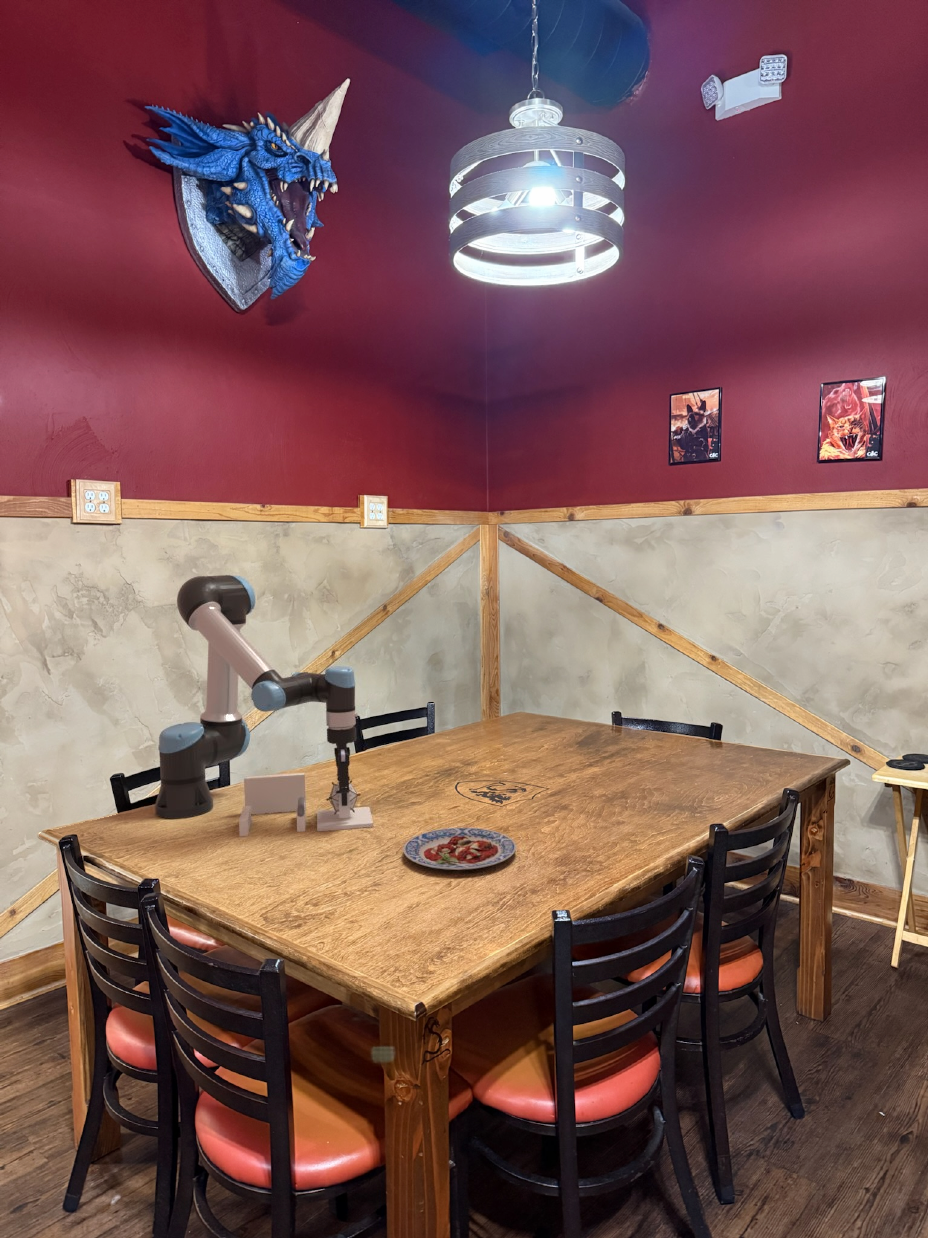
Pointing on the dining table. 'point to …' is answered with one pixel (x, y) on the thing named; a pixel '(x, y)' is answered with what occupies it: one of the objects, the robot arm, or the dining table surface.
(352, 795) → the game die
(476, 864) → the ceramic plate
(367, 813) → the mat
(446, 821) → the dining table surface
